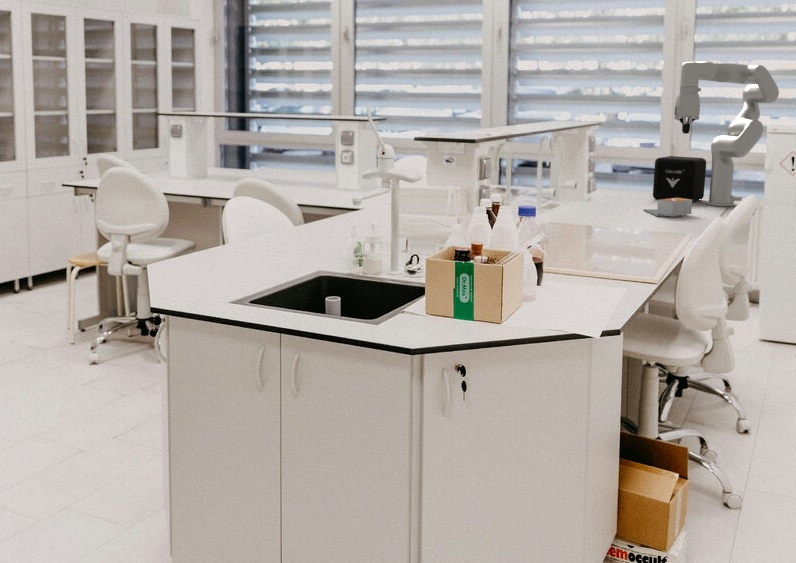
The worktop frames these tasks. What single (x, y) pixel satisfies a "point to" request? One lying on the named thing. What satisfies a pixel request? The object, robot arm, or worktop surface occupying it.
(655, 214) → the rubber mat
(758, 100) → the robot arm
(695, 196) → the air purifier
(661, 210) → the small box
